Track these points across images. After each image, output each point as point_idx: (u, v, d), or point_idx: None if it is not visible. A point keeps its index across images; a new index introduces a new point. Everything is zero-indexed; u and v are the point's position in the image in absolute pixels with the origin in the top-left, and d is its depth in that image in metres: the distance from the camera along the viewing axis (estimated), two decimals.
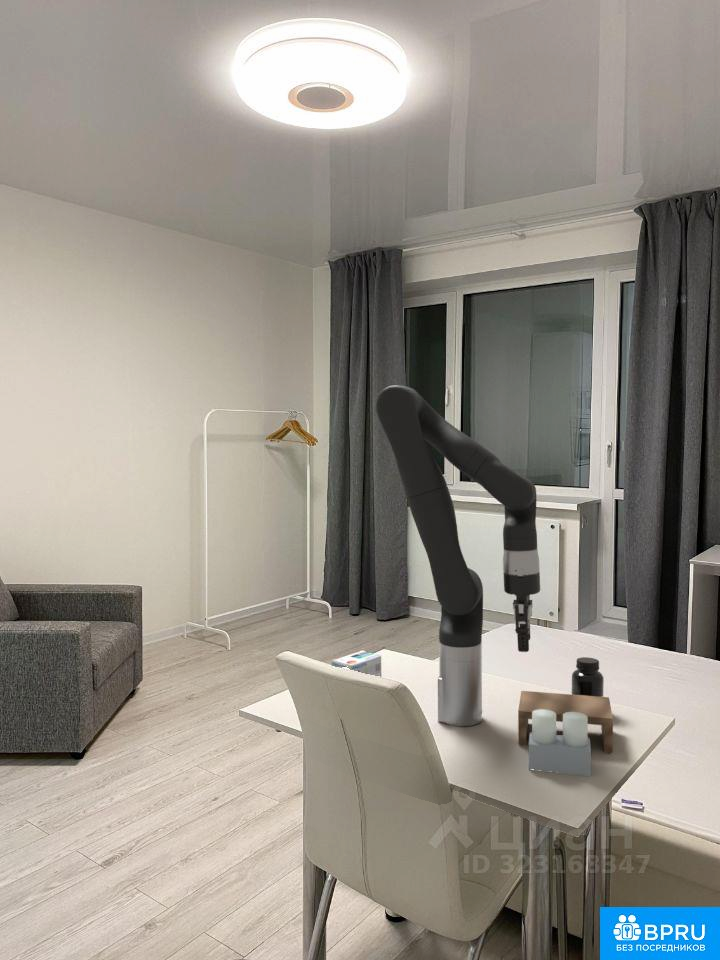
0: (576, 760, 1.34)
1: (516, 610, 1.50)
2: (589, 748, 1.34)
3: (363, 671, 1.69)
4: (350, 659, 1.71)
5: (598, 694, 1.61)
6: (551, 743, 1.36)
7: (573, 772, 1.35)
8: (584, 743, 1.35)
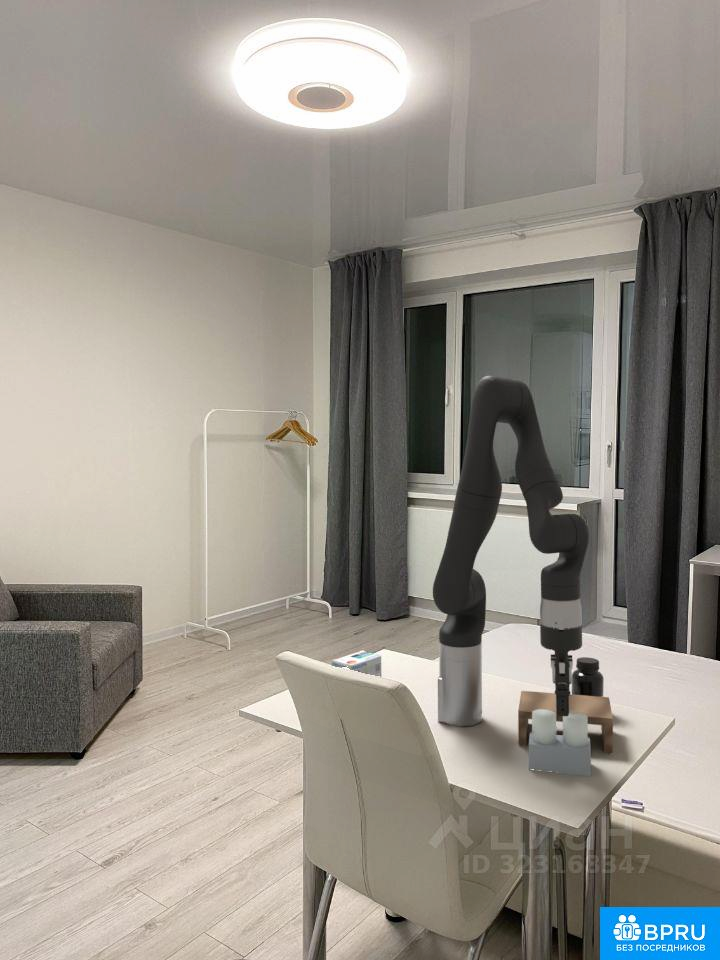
0: (576, 760, 1.34)
1: (556, 669, 1.31)
2: (589, 748, 1.34)
3: (363, 671, 1.69)
4: (350, 659, 1.71)
5: (598, 694, 1.61)
6: (551, 743, 1.36)
7: (573, 772, 1.35)
8: (584, 743, 1.35)
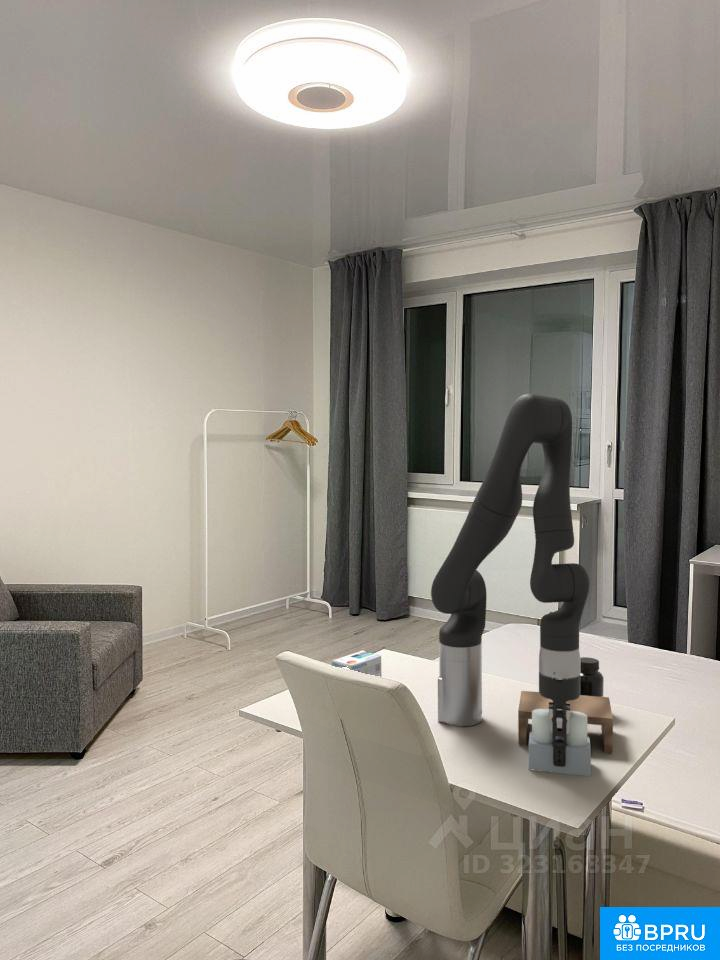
0: (576, 760, 1.35)
1: (554, 725, 1.31)
2: (589, 747, 1.34)
3: (363, 671, 1.69)
4: (350, 659, 1.71)
5: (598, 694, 1.61)
6: (551, 742, 1.36)
7: (573, 771, 1.35)
8: (584, 742, 1.35)
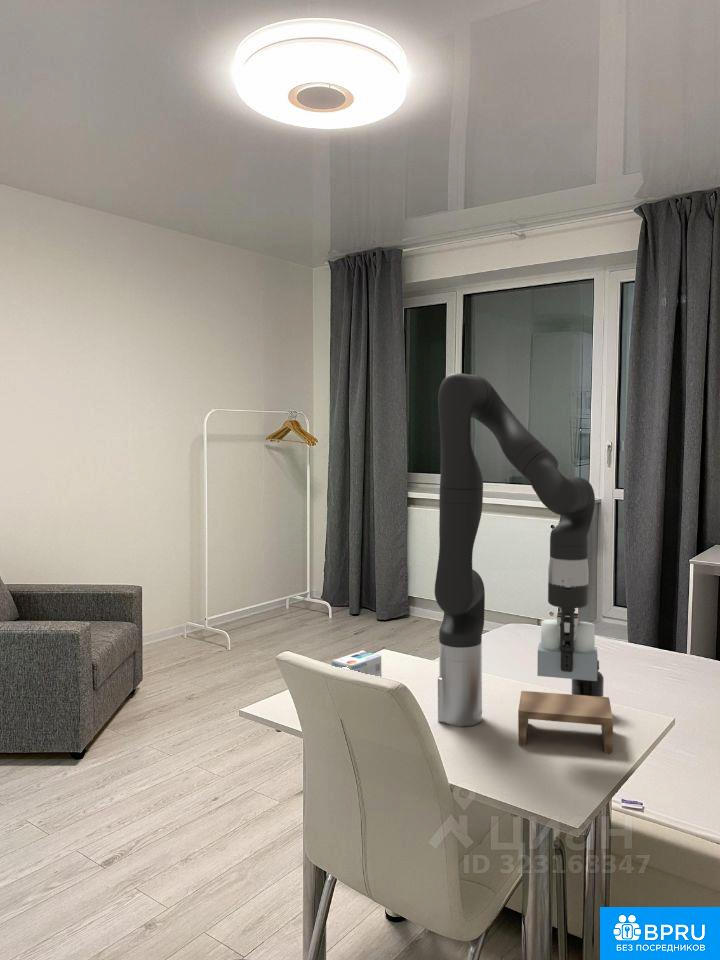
0: (583, 666, 1.40)
1: (561, 629, 1.37)
2: (596, 654, 1.39)
3: (363, 671, 1.69)
4: (350, 659, 1.71)
5: (598, 694, 1.61)
6: (559, 650, 1.42)
7: (580, 677, 1.40)
8: (591, 649, 1.40)
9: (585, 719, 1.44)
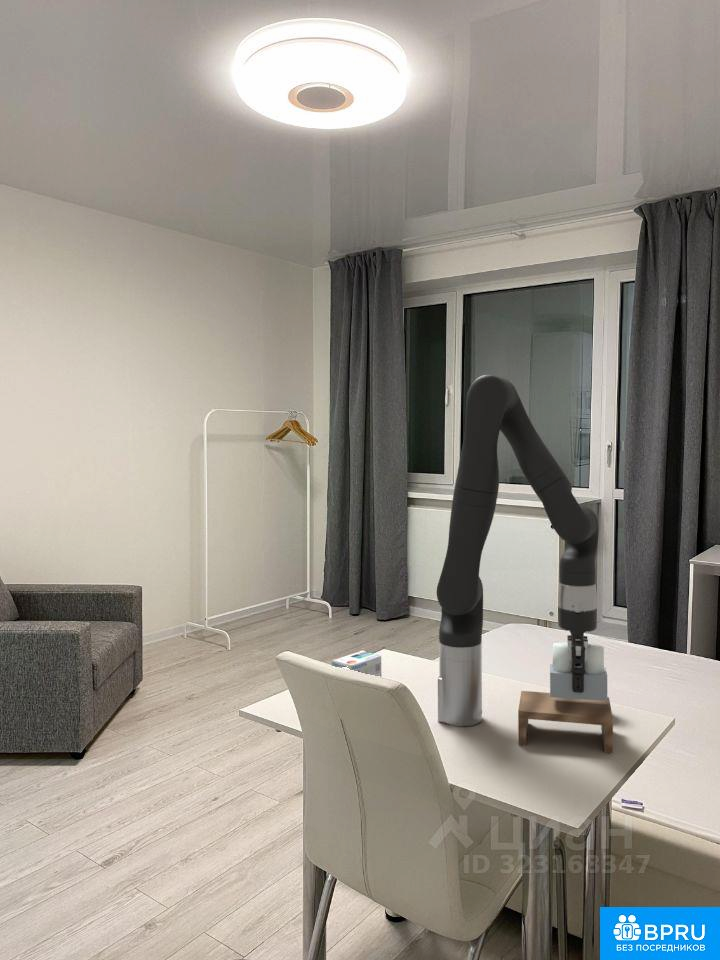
0: (593, 686, 1.47)
1: (573, 652, 1.43)
2: (606, 675, 1.46)
3: (363, 671, 1.69)
4: (350, 659, 1.71)
5: None
6: (570, 671, 1.48)
7: (591, 697, 1.47)
8: (601, 671, 1.47)
9: (585, 719, 1.44)
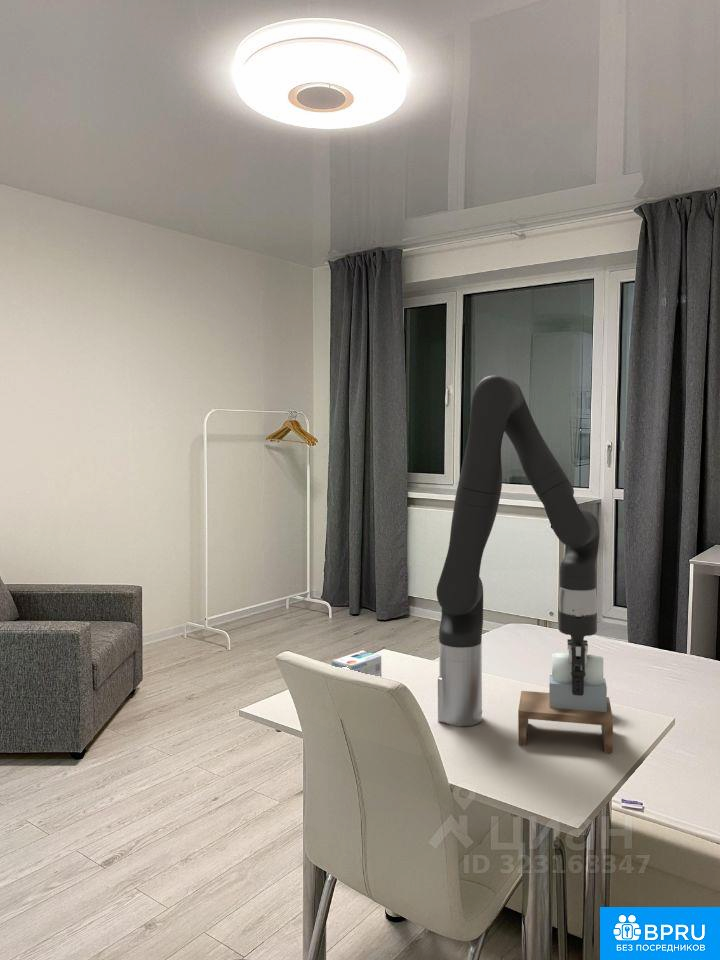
0: (593, 697, 1.47)
1: (573, 652, 1.43)
2: (605, 686, 1.46)
3: (363, 671, 1.69)
4: (350, 659, 1.71)
5: None
6: (570, 682, 1.49)
7: (590, 708, 1.47)
8: (600, 682, 1.47)
9: (585, 719, 1.44)
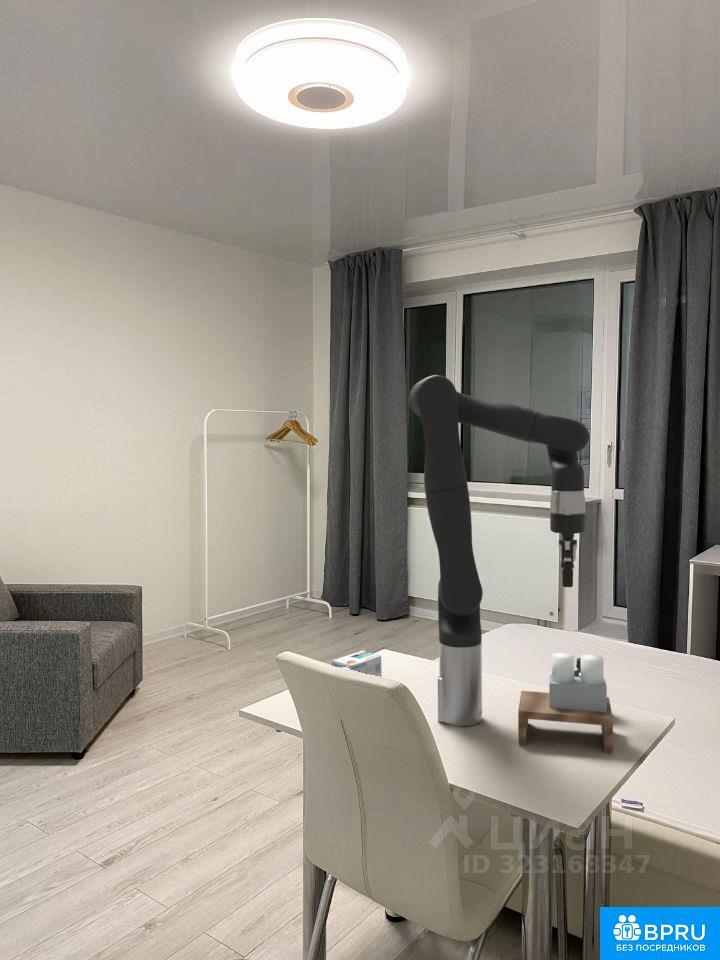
0: (593, 697, 1.47)
1: (562, 546, 1.57)
2: (605, 686, 1.46)
3: (363, 671, 1.69)
4: (350, 659, 1.71)
5: None
6: (570, 682, 1.49)
7: (590, 708, 1.47)
8: (600, 682, 1.47)
9: (585, 719, 1.44)
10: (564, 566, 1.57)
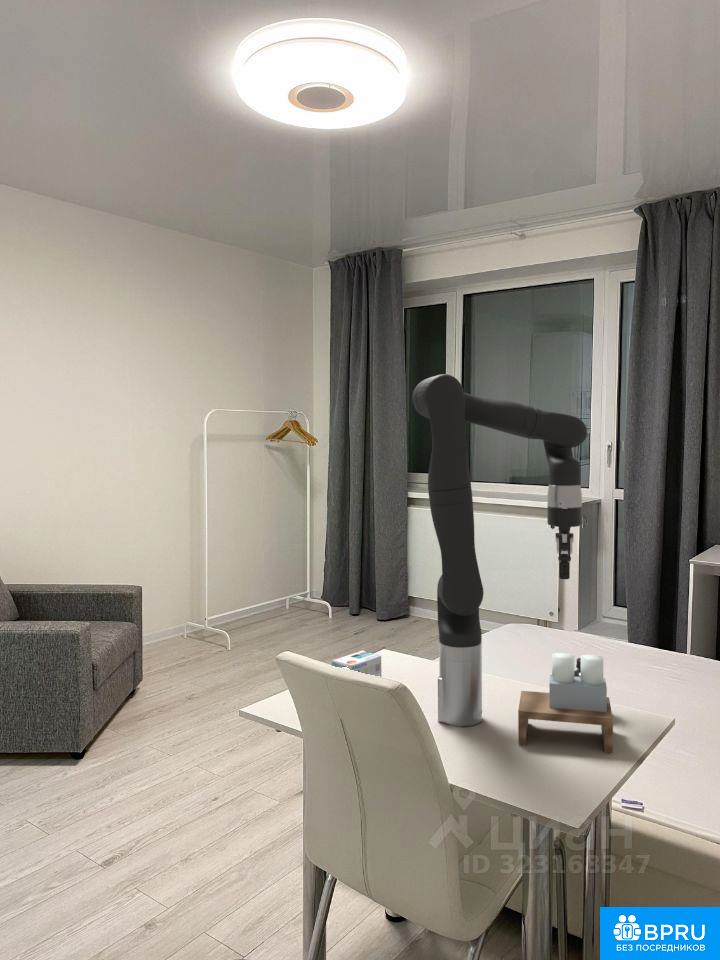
0: (593, 697, 1.47)
1: (560, 539, 1.61)
2: (605, 686, 1.46)
3: (363, 671, 1.69)
4: (350, 659, 1.71)
5: None
6: (570, 682, 1.49)
7: (590, 708, 1.47)
8: (600, 682, 1.47)
9: (585, 719, 1.44)
10: (561, 558, 1.61)
